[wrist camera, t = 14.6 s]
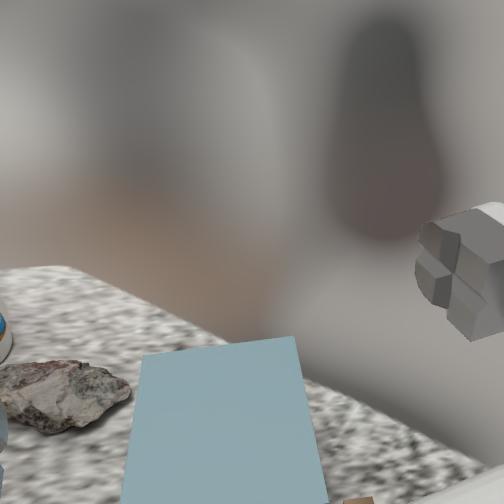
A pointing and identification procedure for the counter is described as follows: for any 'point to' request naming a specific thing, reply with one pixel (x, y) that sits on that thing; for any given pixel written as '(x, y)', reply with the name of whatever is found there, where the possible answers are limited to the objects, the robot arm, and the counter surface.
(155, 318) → the counter surface
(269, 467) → the trapdoor
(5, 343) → the fruit juice
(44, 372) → the mineral rock
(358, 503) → the post frame
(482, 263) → the robot arm
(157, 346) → the counter surface
